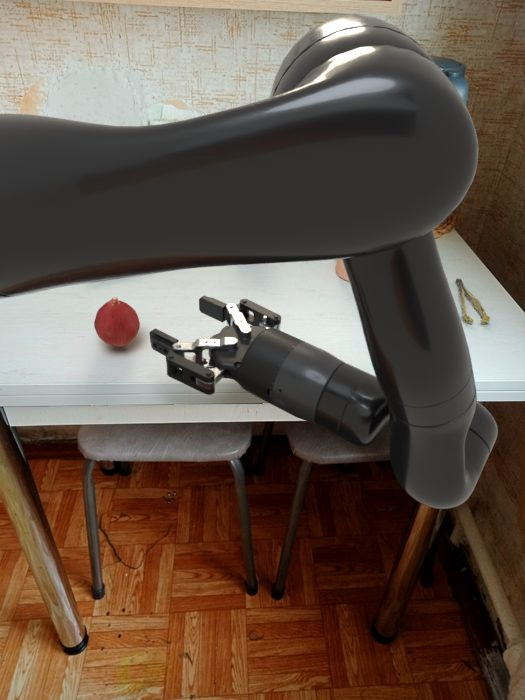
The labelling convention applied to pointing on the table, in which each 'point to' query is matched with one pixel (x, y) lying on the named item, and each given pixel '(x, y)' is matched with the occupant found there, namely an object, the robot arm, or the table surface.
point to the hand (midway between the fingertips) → (177, 319)
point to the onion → (116, 323)
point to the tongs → (475, 302)
